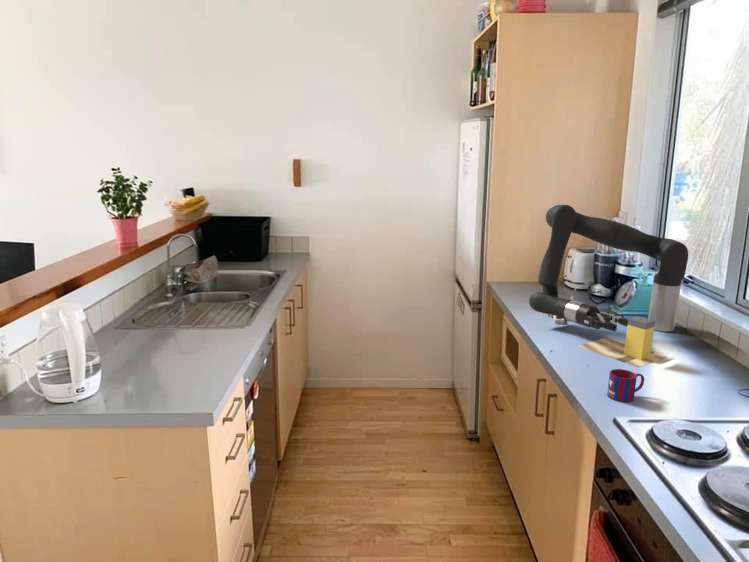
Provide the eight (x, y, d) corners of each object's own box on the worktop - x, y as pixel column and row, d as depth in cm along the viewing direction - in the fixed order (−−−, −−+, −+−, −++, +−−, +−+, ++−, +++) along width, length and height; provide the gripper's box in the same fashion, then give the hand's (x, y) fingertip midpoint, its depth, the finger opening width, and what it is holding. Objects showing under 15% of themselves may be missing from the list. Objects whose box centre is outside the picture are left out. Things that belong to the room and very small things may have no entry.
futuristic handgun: (609, 321, 220) (598, 309, 234) (554, 319, 222) (547, 307, 236) (608, 328, 220) (597, 315, 235) (553, 326, 222) (546, 313, 237)
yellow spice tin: (632, 351, 191) (637, 316, 188) (649, 357, 187) (655, 321, 184) (623, 354, 189) (628, 318, 186) (640, 360, 184) (646, 323, 181)
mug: (602, 392, 162) (605, 369, 161) (636, 391, 164) (639, 368, 162) (615, 402, 156) (618, 379, 154) (650, 401, 157) (653, 377, 156)
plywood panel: (607, 340, 205) (607, 337, 205) (668, 360, 188) (668, 356, 187) (576, 349, 196) (576, 345, 195) (637, 370, 178) (638, 367, 178)
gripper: (569, 305, 198) (612, 318, 185) (595, 300, 206) (638, 311, 193) (567, 327, 200) (609, 340, 187) (592, 320, 208) (635, 333, 195)
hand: (623, 326), depth 190 cm, fingers open, 8 cm apart
